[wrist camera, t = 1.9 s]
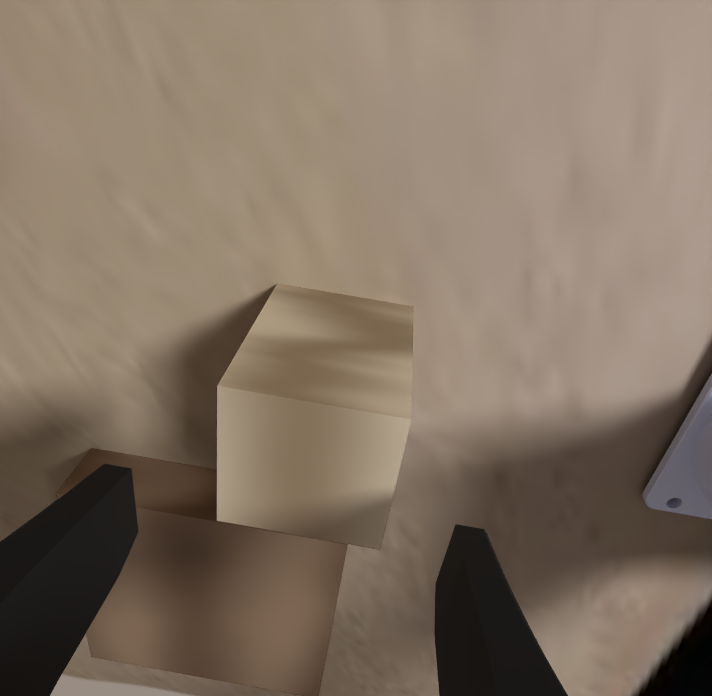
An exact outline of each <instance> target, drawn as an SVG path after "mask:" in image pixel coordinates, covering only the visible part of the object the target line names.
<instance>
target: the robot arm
mask: <svg viewBox="0 0 712 696" xmlns="http://www.w3.org/2000/svg"><path fill="white" fill-rule="evenodd" d="M642 496H643V499H644V501H645V503H646V505H647V506H648V507H649V508H652V509H656V510H661V511H667V512H673V513H679V514H684V515H690V516H696V517H702V518H708V519H712V374H711V375H710V377H709V379H708V380H707V382H706V384H705V386H704V387H703V389H702V391H701V393H700V394H699V396H698V398H697V400H696V401H695V403H694V405H693V406H692V408H691V410H690V412H689V413H688V415H687V417H686V419H685V420H684V422H683V424H682V426H681V427H680V429H679V431H678V432H677V434H676V436H675V438H674V439H673V441H672V443H671V445H670V446H669V448H668V450H667V452H666V453H665V455H664V457H663V458H662V460H661V462H660V464H659V465H658V467H657V469H656V471H655V472H654V474H653V476H652V478H651V479H650V481H649V483H648V485H647V486H646V488H645V490H644V491H643V495H642ZM672 498H675V499H672ZM669 499H672V500H669ZM138 532H139V531H138V522H137V513H136V504H135V495H134V486H133V477H132V468H127V467H121V466H115V465H109V464H103V465H102V466H100V467H99V468H98V469H96V470H95V471H94V472H92V473H91V474H90V475H89V476H87V477H86V478H85V479H83V480H82V481H81V482H79V483H78V484H77V485H76V486H74V487H73V488H72V489H70V490H69V491H68V492H67V493H65V494H64V495H63V496H61V497H60V498H59V499H57V500H56V501H55V502H54V503H52V504H51V505H50V506H48V507H47V508H46V509H44V510H43V511H42V512H40V513H39V514H38V515H36V516H35V517H34V518H32V519H31V520H30V521H28V522H27V523H25V524H24V525H23V526H21V527H20V528H19V529H17V530H16V531H15V532H13V533H12V534H11V535H9V536H8V537H6V538H5V539H4V540H2V541H1V542H0V696H50V694H51V693H52V690H53V689H54V687H55V685H56V683H57V681H58V680H59V678H60V676H61V674H62V673H63V671H64V669H65V668H66V666H67V664H68V663H69V661H70V659H71V657H72V656H73V654H74V652H75V651H76V649H77V647H78V646H79V644H80V642H81V640H82V639H83V637H84V635H85V634H86V632H87V630H88V629H89V627H90V625H91V623H92V622H93V620H94V618H95V617H96V615H97V613H98V612H99V610H100V608H101V606H102V605H103V603H104V601H105V600H106V598H107V596H108V594H109V593H110V591H111V589H112V587H113V586H114V584H115V582H116V580H117V579H118V577H119V575H120V573H121V570H122V568H123V566H124V564H125V562H126V559H127V557H128V555H129V553H130V550H131V548H132V546H133V543H134V541H135V539H136V536H137V534H138ZM435 645H436V657H437V670H438V682H439V694H440V696H568V695H567V693H566V692H565V690H564V688H563V686H562V685H561V683H560V681H559V680H558V678H557V676H556V674H555V673H554V671H553V669H552V667H551V666H550V664H549V662H548V660H547V659H546V657H545V655H544V653H543V651H542V650H541V648H540V646H539V644H538V642H537V640H536V638H535V637H534V635H533V633H532V631H531V629H530V627H529V625H528V623H527V621H526V619H525V617H524V615H523V613H522V611H521V609H520V607H519V605H518V603H517V601H516V599H515V597H514V595H513V593H512V590H511V588H510V586H509V584H508V582H507V579H506V577H505V575H504V573H503V571H502V568H501V566H500V564H499V562H498V559H497V557H496V555H495V552H494V550H493V547H492V545H491V542H490V540H489V537H488V535H487V533H486V532H485V530H484V529H479V528H474V527H468V526H462V525H455V528H454V531H453V534H452V537H451V540H450V543H449V546H448V549H447V552H446V555H445V558H444V561H443V564H442V567H441V569H440V572H439V575H438V578H437V581H436V592H435Z"/></svg>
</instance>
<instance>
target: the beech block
mask: <svg viewBox="0 0 712 696" xmlns="http://www.w3.org/2000/svg"><path fill="white" fill-rule="evenodd" d="M413 312H414V306H408V305H402V304H396V303H390V302H384V301H378V300H372V299H366V298H360V297H354V296H348V295H342V294H337V293H331V292H325V291H319V290H313V289H307V288H301V287H295V286H289V285H283V284H277V285H276V286H275V288H274V290H273V292H272V293H271V295H270V297H269V298H268V300H267V302H266V303H265V305H264V307H263V309H262V310H261V312H260V314H259V315H258V317H257V319H256V321H255V322H254V324H253V326H252V327H251V329H250V331H249V333H248V334H247V336H246V338H245V339H244V341H243V343H242V344H241V346H240V348H239V350H238V351H237V353H236V355H235V356H234V358H233V360H232V362H231V363H230V365H229V367H228V368H227V370H226V372H225V373H224V375H223V377H222V379H221V380H220V382H219V384H218V385H217V521H221V522H227V523H233V524H238V525H244V526H250V527H255V528H261V529H266V530H272V531H278V532H283V533H289V534H294V535H300V536H306V537H311V538H317V539H323V540H328V541H334V542H339V543H345V544H351V545H356V546H362V547H367V548H373V549H379V550H380V548H381V544H382V540H383V536H384V532H385V527H386V523H387V519H388V515H389V511H390V507H391V502H392V498H393V494H394V490H395V486H396V482H397V478H398V473H399V469H400V465H401V461H402V457H403V453H404V449H405V444H406V440H407V436H408V432H409V428H410V424H411V420H412V366H413Z"/></svg>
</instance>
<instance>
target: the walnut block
mask: <svg viewBox="0 0 712 696" xmlns="http://www.w3.org/2000/svg"><path fill="white" fill-rule="evenodd" d="M103 464H109V465H115V466H121V467H127V468H132V477H133V486H134V495H135V504H136V513H137V522H138V531H139V532H138V534H137V536H136V539H135V541H134V543H133V546H132V548H131V550H130V553H129V555H128V557H127V559H126V562H125V564H124V566H123V568H122V570H121V573H120V575H119V577H118V579H117V580H116V582H115V584H114V586H113V587H112V589H111V591H110V593H109V594H108V596H107V598H106V600H105V601H104V603H103V605H102V606H101V608H100V610H99V612H98V613H97V615H96V617H95V618H94V620H93V622H92V623H91V625H90V627H89V629H88V630H87V632H86V635H87V640H88V644H89V649H90V653H91V657H94V658H100V659H105V660H111V661H116V662H122V663H127V664H132V665H138V666H143V667H149V668H154V669H160V670H165V671H171V672H176V673H182V674H187V675H192V676H198V677H203V678H209V679H214V680H220V681H225V682H231V683H236V684H241V685H247V686H252V687H258V688H263V689H269V690H274V691H280V692H285V693H291V694H296V695H301V696H319V691H320V686H321V681H322V676H323V671H324V665H325V660H326V655H327V650H328V644H329V639H330V634H331V629H332V624H333V618H334V613H335V608H336V603H337V597H338V592H339V587H340V582H341V577H342V571H343V566H344V561H345V556H346V550H347V545H348V544H345V543H339V542H334V541H328V540H323V539H317V538H311V537H306V536H300V535H294V534H289V533H283V532H278V531H272V530H266V529H261V528H255V527H250V526H244V525H238V524H233V523H227V522H221V521H217V470H214V469H209V468H203V467H197V466H192V465H186V464H180V463H174V462H169V461H163V460H157V459H152V458H146V457H140V456H134V455H129V454H123V453H117V452H112V451H106V450H100V449H94V448H92V449H91V450H90V451H89V452H88V454H87V455H86V456H85V457H84V459H83V460H82V461H81V462H80V464H79V465H78V466H77V467H76V468H75V470H74V471H73V472H72V473H71V475H70V476H69V477H68V478H67V480H66V481H65V482H64V483H63V485H62V486H61V487H60V488H59V490H58V491H57V492H56V497H57V499H59V498H60V497H61V496H63V495H64V494H65V493H67V492H68V491H69V490H70V489H72V488H73V487H74V486H76V485H77V484H78V483H79V482H81V481H82V480H83V479H85V478H86V477H87V476H89V475H90V474H91V473H92V472H94V471H95V470H96V469H98V468H99V467H100V466H102V465H103Z"/></svg>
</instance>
